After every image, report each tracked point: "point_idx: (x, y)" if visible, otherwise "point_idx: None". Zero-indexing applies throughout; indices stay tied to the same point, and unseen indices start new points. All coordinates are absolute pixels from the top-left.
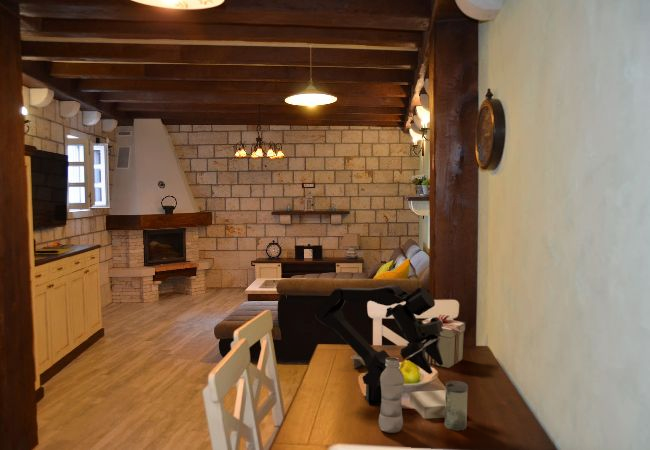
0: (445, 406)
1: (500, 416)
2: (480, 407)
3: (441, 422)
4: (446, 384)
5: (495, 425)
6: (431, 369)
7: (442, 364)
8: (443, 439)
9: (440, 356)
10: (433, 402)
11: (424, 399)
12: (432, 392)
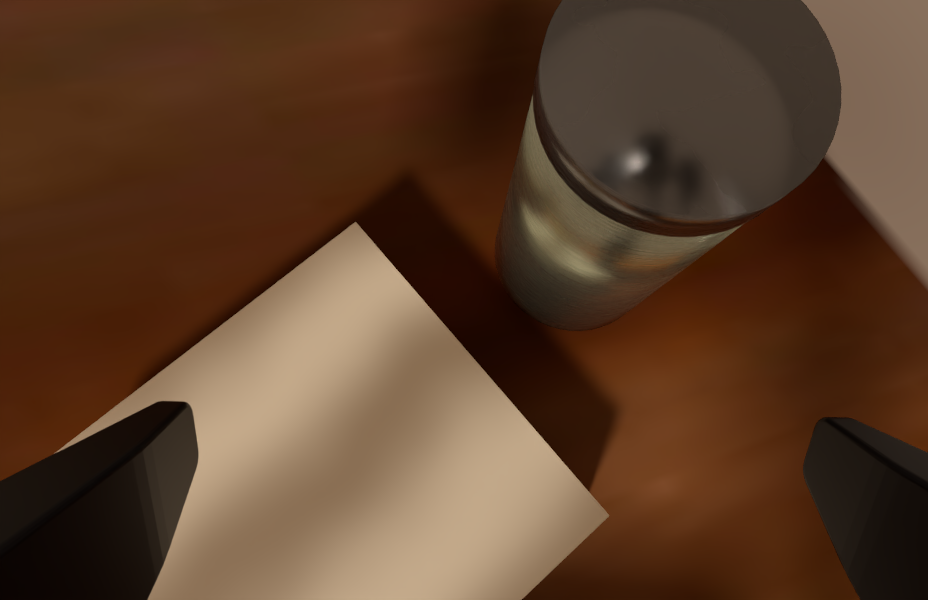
0: (671, 278)
1: (225, 28)
2: (113, 180)
3: (568, 360)
4: (784, 188)
5: (403, 29)
6: (867, 441)
7: (191, 410)
8: (828, 264)
9: (57, 479)
10: (448, 476)
11: (420, 587)
12: (175, 582)
